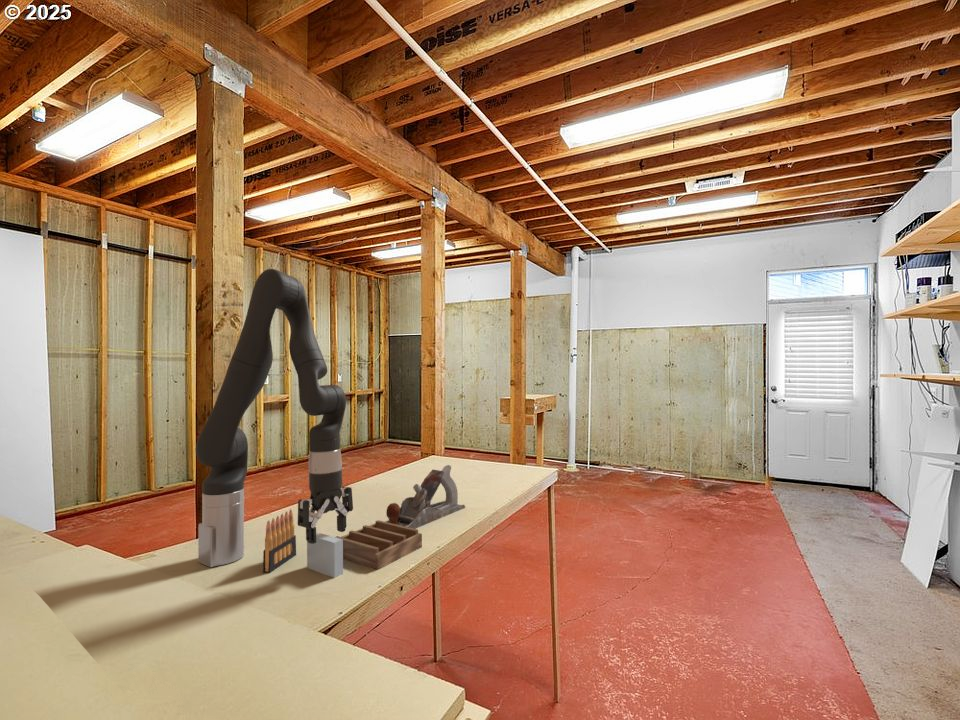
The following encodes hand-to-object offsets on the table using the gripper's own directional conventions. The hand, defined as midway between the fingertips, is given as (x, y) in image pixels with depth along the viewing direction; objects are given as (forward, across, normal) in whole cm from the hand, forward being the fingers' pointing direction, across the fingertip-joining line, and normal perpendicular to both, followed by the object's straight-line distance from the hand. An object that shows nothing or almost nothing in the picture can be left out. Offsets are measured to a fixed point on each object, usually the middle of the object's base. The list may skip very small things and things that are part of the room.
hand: (327, 536), depth 108 cm
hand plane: (+9, +41, +4) cm, 42 cm away
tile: (+8, -1, 0) cm, 8 cm away
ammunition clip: (+8, -4, +13) cm, 16 cm away
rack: (+8, +14, -2) cm, 16 cm away
